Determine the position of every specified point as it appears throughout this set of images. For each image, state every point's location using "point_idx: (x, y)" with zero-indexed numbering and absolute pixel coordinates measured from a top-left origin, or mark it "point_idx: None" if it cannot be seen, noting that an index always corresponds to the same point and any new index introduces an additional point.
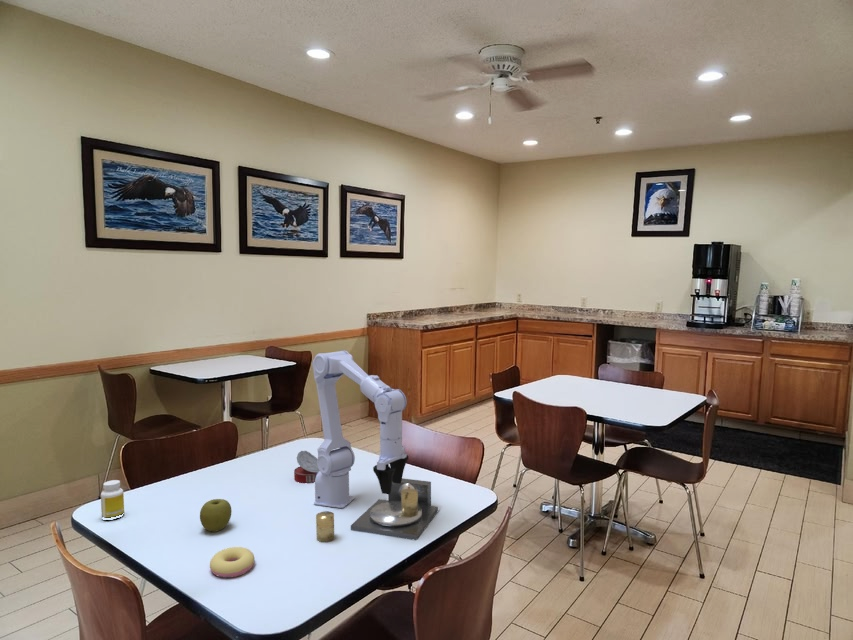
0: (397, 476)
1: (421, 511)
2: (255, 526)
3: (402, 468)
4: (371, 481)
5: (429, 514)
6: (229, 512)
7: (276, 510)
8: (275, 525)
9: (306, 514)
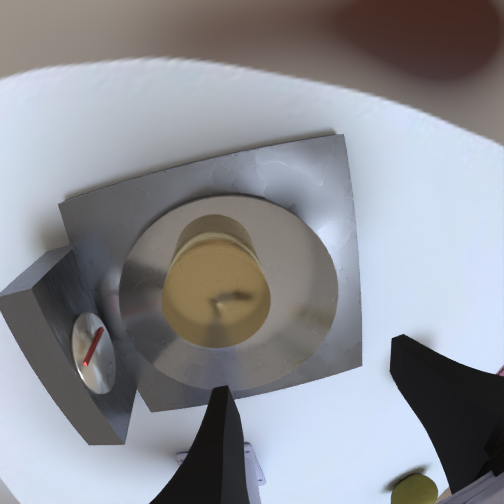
0: (233, 430)
1: (164, 218)
2: (389, 466)
3: (224, 461)
4: (71, 460)
5: (138, 189)
6: (415, 493)
7: (320, 492)
8: (379, 457)
9: (314, 463)
